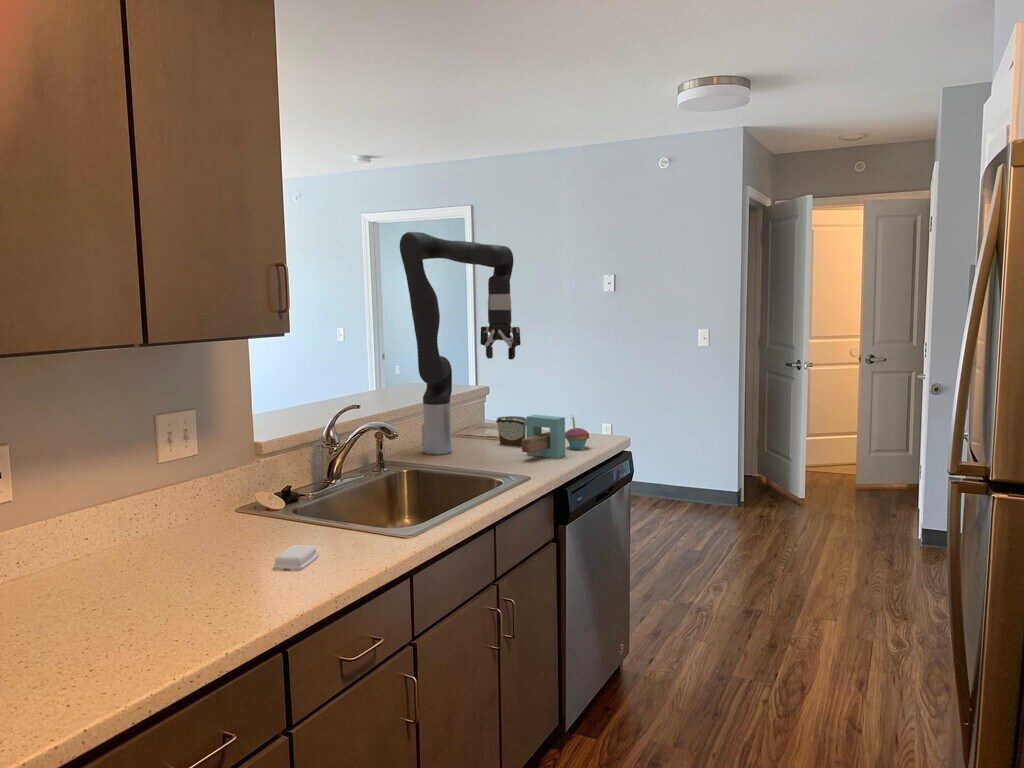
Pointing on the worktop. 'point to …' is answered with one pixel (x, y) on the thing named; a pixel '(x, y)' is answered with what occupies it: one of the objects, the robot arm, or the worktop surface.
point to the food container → (511, 430)
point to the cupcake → (576, 437)
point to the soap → (296, 558)
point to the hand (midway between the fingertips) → (500, 358)
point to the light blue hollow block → (556, 434)
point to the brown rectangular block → (536, 443)
